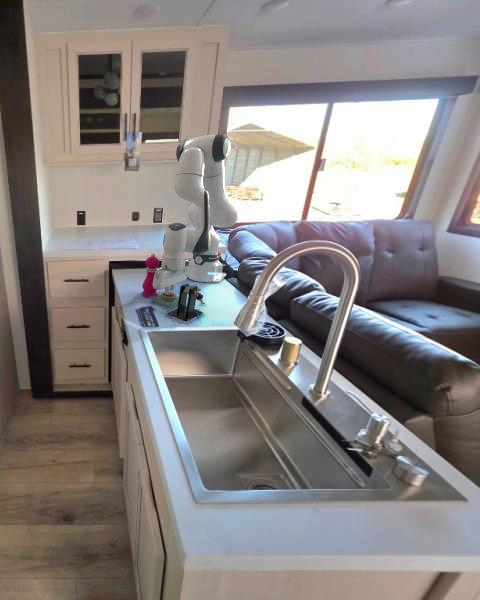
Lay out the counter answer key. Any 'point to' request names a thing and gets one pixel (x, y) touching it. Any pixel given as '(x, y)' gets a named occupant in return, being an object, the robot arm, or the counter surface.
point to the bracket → (189, 310)
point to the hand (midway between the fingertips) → (168, 293)
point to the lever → (199, 295)
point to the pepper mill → (150, 276)
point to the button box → (166, 300)
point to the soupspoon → (197, 291)
